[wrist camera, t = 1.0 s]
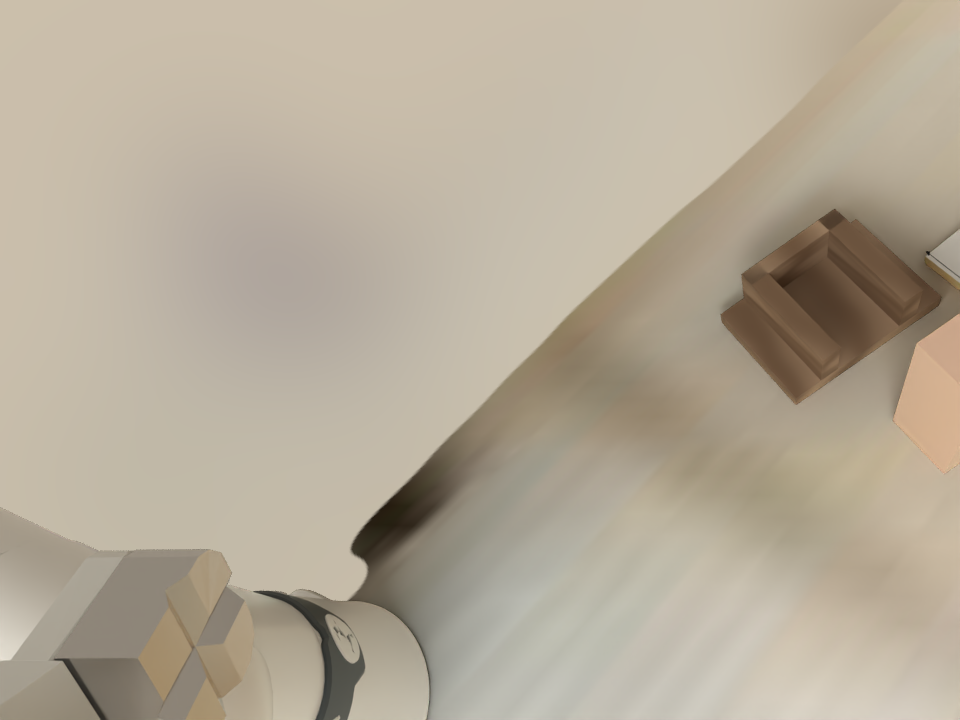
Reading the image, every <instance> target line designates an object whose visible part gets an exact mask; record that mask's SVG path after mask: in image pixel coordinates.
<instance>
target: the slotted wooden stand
mask: <svg viewBox="0 0 960 720" xmlns="http://www.w3.org/2000/svg"><path fill="white" fill-rule="evenodd" d="M741 275H742V284H743V294H744V298H743V299H742V300H740V301H739V302H738V303H736V304H735V305H733V306H732V307H730V308H729V309H728V310H726V311H725V312H723V313H722V314H721V320H722V323H723V324H724V325H725V326H726V328H727V329H728V330H729V331H730V332H731V333H732V334H733V335H734V336H735V338H736V339H737V340H738V341H739V342H740V343H741V344H742V345H743V347H744V348H745V349H746V350H747V351H748V352H749V353H750V354H751V355H752V357H753V358H754V359H755V360H756V361H757V362H758V363H759V364H760V365H761V367H762V368H763V369H764V370H765V371H766V372H767V373H768V374H769V375H770V377H771V378H772V379H773V380H774V381H775V382H776V383H777V384H778V385H779V387H780V388H781V389H782V390H783V391H784V392H785V393H786V394H787V396H788V397H789V398H790V399H791V400H792V401H793V402H794V403H795V404H796V405H797V404H798V403H800V402H801V401H802V400H804V399H805V398H807V397H808V396H810V395H811V394H813V393H814V392H815V391H817V390H818V389H820V388H821V387H823V386H824V385H825V384H827V383H828V382H830V381H831V380H833V379H834V378H836V377H837V376H838V375H840V374H841V373H843V372H844V371H846V370H847V369H848V368H850V367H851V366H853V365H854V364H856V363H857V362H858V361H860V360H861V359H863V358H864V357H866V356H867V355H869V354H870V353H871V352H873V351H874V350H876V349H877V348H879V347H880V346H881V345H883V344H884V343H886V342H887V341H889V340H890V339H892V338H893V337H894V336H896V335H897V334H899V333H900V332H902V331H903V330H904V329H906V328H907V327H909V326H910V325H912V324H913V323H914V322H916V321H917V320H919V319H920V318H922V317H923V316H925V315H926V314H927V313H929V312H930V311H932V310H933V309H935V308H936V307H937V306H939V303H940V300H941V296H940V295H939V294H938V293H937V292H935V291H934V290H933V289H932V288H931V287H930V286H929V285H928V284H927V283H926V282H924V281H923V280H922V279H921V278H920V277H919V276H918V275H917V274H916V273H915V272H913V271H912V270H911V269H910V268H909V267H908V266H907V265H906V264H905V263H904V262H902V261H901V260H900V259H899V258H898V257H897V256H896V255H895V254H894V253H893V252H892V251H890V250H889V249H888V248H887V247H886V246H885V245H884V244H883V243H882V242H881V241H879V240H878V239H877V238H876V237H875V236H874V235H873V234H872V233H871V232H870V231H868V230H867V229H866V228H865V227H864V226H863V225H862V224H861V223H860V222H859V221H857V220H854V221H853V222H851V223H850V222H849V221H848V220H847V219H845V218H844V217H843V216H842V215H841V214H840V213H839V212H838V211H837V210H836V209H834V210H832V211H831V212H829V213H828V214H826V215H825V216H824V217H822V218H821V219H819V220H818V221H816V222H815V223H814V224H812V225H811V226H809V227H808V228H807V229H805V230H804V231H802V232H801V233H799V234H798V235H797V236H795V237H794V238H792V239H791V240H789V241H788V242H787V243H785V244H784V245H782V246H781V247H780V248H778V249H777V250H775V251H774V252H772V253H771V254H770V255H768V256H767V257H765V258H764V259H763V260H761V261H760V262H758V263H757V264H755V265H754V266H753V267H751V268H750V269H748V270H747V271H745V272H744V273H743V274H741Z"/></svg>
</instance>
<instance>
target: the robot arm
mask: <svg viewBox="0 0 960 720" xmlns="http://www.w3.org/2000/svg"><path fill="white" fill-rule="evenodd" d="M231 574H232V572H231V570H230V568H229V566H228V564H227V562H226V561H225V559H224V557H223V555H222V553H221V552H217V551H213V550H208V549H206V550H205V549H201V550H200V549H196V550H195V549H193V550H135V551H98V550H96V549H94V548H92V547H90V546H87V545H85V544H83V543H80V542H77V541H73V540H69V539H66V538H65V537H63V536H61V535H58V534H56V533H54V532H52V531H50V530H48V529H45V528H43V527H41V526H39V525H37V524H35V523H33V522H31V521H28V520H26V519H24V518H22V517H20V516H18V515H15V514H13V513H11V512H9V511H7V510H5V509H3V508H1V507H0V720H426V718H427V713H428V707H429V678H428V671H427V667H426V662H425V659H424V656H423V653H422V651H421V649H420V646H419V644H418V642H417V641H416V639H415V637H414V636H413V634H412V633H411V631H410V630H409V629H408V627H407V626H406V625H405V624H404V623H403V622H402V621H401V620H400V619H399V618H397V617H396V616H395V615H394V614H392V613H391V612H389V611H387V610H386V609H384V608H382V607H379V606H377V605H374V604H371V603H366V602H360V601H333V600H330V599H328V598H326V597H324V596H322V595H320V594H318V593H316V592H313V591H310V590H302V589H300V590H296V591H294V592H292V593H291V594H290V595H287V594H286V593H284V592H278V591H253V592H252V591H248V590H245V589H241V588H238V587H235V586H231V585H228V582H229V579H230V577H231Z"/></svg>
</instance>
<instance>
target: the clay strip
mask: <svg viewBox="0 0 960 720" xmlns="http://www.w3.org/2000/svg"><path fill="white" fill-rule="evenodd" d="M893 421H894V422H895V423H896V425H897V426H898V427H899V428H900V429H901V430H902V431H903V432H904V433H905V434H906V435H907V436H908V437H909V438H910V439H911V440H912V441H913V442H914V443H915V444H916V445H917V446H918V447H919V448H920V450H921V451H922V452H923V453H924V454H925V455H926V456H927V457H928V458H929V459H930V460H931V461H932V462H933V463H934V464H935V465H936V466H937V467H938V468H939V469H940V470H941V471H942V472H943V473H944V474H945V473H947V472H948V471H950V470H951V469H952V468H954V467H955V466H957V465H958V464H960V313H959V314H958V315H957V316H955V317H954V318H952V319H951V320H949V321H948V322H946V323H945V324H944V325H942V326H941V327H939V328H938V329H936V330H935V331H934V332H932V333H931V334H929V335H928V336H926V337H925V338H923V339H922V340H921V341H919V342H918V343H917V344H916V347H915V350H914V354H913V357H912V360H911V363H910V366H909V370H908V373H907V376H906V379H905V383H904V386H903V389H902V392H901V395H900V399H899V402H898V405H897V408H896V412H895V415H894V418H893Z"/></svg>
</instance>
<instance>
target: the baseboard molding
mask: <svg viewBox="0 0 960 720" xmlns="http://www.w3.org/2000/svg"><path fill="white" fill-rule="evenodd" d="M926 253H927V255H926V256H925V264H926V265H928V266H929V267H930V268H931V269H933V270H934V271H935V272H937V273H938V274H939V275H940V276H942V277H943V278H944V279H945V280H947V281H948V282H949V283H951V284H952V285H953V286H954V287H956V288H957V289H958V290H959V291H960V229H959V230H958V231H956V232H955V233H954V234H953V235H951V236H950V237H949V238H947V239H946V240H945V241H944V242H942V243H941V244H940V245H939V246H937V247H936V248H935V249H934V250H932V251H931V252H928V251H926Z"/></svg>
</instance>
